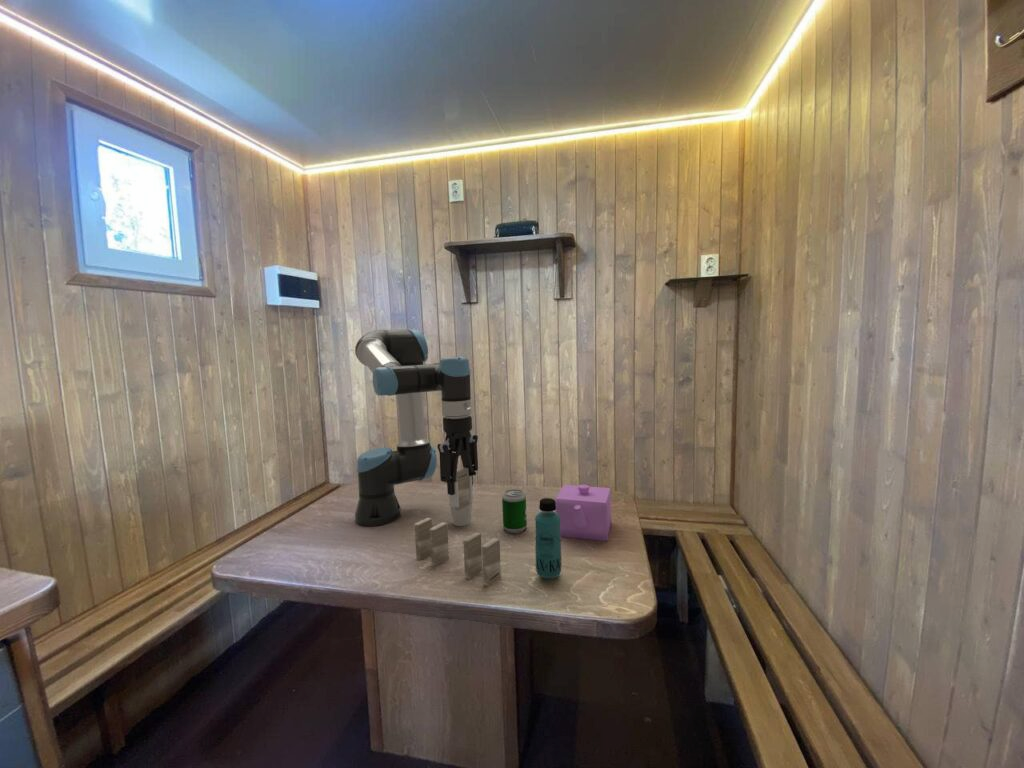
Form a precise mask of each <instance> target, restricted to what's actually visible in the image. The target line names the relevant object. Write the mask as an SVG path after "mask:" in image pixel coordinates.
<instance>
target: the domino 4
mask: <svg viewBox="0 0 1024 768" xmlns="http://www.w3.org/2000/svg"><path fill="white" fill-rule="evenodd" d="M462 541H463V542H462V543H463V561H464V564H463V565H464V578H465V579H467V580H469V581H471V579H473V578H474V577H476V576H477V575H478V574H480V573H482V572H483V563H482V534H481V533H479V532H474V533H473V534H471V535H469V536H467V537H466V538H464V539H463V540H462Z"/></svg>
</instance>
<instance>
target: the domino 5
mask: <svg viewBox="0 0 1024 768" xmlns="http://www.w3.org/2000/svg"><path fill="white" fill-rule="evenodd" d="M481 547H482V570H483V571H482V579H483V581H482V583H483V586H484V587H487V588H490V587H491V586H492V585H493V584H494V583H496V582H497V581H499V579H501V578H502V570H501V546H500V539H499V538H497V537H493V538H491V540H489V541H487V542H486V543H484V544H483V545H481Z"/></svg>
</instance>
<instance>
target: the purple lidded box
mask: <svg viewBox="0 0 1024 768" xmlns="http://www.w3.org/2000/svg"><path fill="white" fill-rule="evenodd" d="M611 494H612V489H611V488H610V487H599V486H597V487H596V486H589V485H587V484H579V485H573V484H563V486H562V487H561V489H560V491H559V492H558V494H557V496H556V497H555V499H554V500H555V502H556V510H555V513H557V514H558V515H559V516H560V536H561V537H565V538H571V539H572V538H574V539H582V540H591V541H600V542H608V540H607V539H609V534H610V529H611V526H612V495H611Z"/></svg>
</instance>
